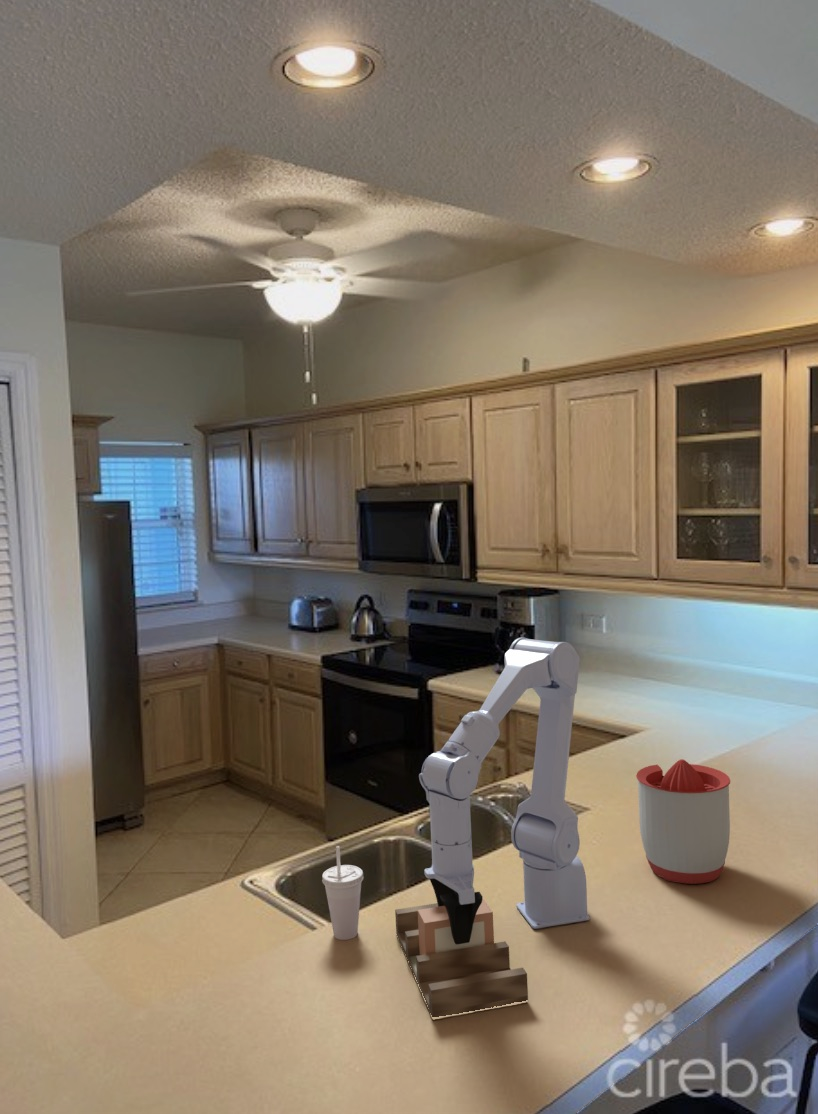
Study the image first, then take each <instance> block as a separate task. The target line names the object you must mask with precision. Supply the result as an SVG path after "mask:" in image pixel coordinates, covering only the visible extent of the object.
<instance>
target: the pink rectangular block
mask: <svg viewBox="0 0 818 1114" xmlns="http://www.w3.org/2000/svg"><path fill="white" fill-rule="evenodd" d="M418 929H419V951H420V956H421V955H427V954H433V953H439V952H445V951H451V950H457V949H462V948H468V947H474V946H480V945H486V944H492V943H495V935H494V934H495V933H494V912H493V910H492V909H491V907H490V906H489V905H488V903H487V902H486V900H485V899H482V903H481V905H480V906H479V908H478V910H477V913H476V915H475V919H474V923H473V928H472V933H471V938H470V942H469V943H463V944H457V945H456V944H455V942H454V940H453V936H452V932H451V926H450V921H449V917H448V913H447V910H446V908H445V906H439V907H433V908H427V909H420V910H418Z"/></svg>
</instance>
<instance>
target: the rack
mask: <svg viewBox="0 0 818 1114" xmlns="http://www.w3.org/2000/svg"><path fill="white" fill-rule="evenodd" d="M433 907H438V903H437V902H435V903H429V904H424V905H418V906H411V907H404V908H397V909H395V910H394V911H395V913H394V914H395V930H396V934H397V935H396V937H397V936H398V937H397V940H398V939H399V940H398V942H399V941H400V942H399V944H400V943H401V945H400V946H402V947H401V949H402V948H403V949H402V951H403V950H404V952H405V954H406V956H405V958H406V957H407V959H408V961H409V964H410V966H411V968H412V970H413V973H414V975H415V977H416V980H417V982H418V984H419V987H420V989H421V991H422V993H423V996H424V998H425V1000H426V1003H427V1005H428V1008H429V1011H430V1013H431V1015H432V1017H439V1016H446V1015H452V1014H459V1013H463V1012H469V1011H475V1010H480V1009H485V1008H491V1007H492V1008H493V1007H494V1006H496V1007H497V1006H502V1005H506V1004H511V1003H514V1002H522V1001H526V1000H528V1001H529V991H528V990H529V989H528V973H527V971H526V970H525V969H524V967H518V968H512V969H511V965H510V946H509V945H508V943H507V942H506V941H500V942H494V943H492V944H486V945H480V946H474V947H468V948H462V949H457V950H451V951H445V952H439V953H433V954H427V955H421V956H420V951H419V929H418V910H420V909H427V908H433ZM404 952H403V953H404ZM405 954H404V955H405ZM407 959H406V960H407ZM408 961H407V962H408ZM409 964H408V965H409ZM410 966H409V967H410ZM411 968H410V969H411ZM413 973H412V974H413ZM414 975H413V976H414ZM416 980H415V981H416ZM419 987H418V988H419ZM429 1011H428V1012H429ZM430 1013H429V1014H430Z"/></svg>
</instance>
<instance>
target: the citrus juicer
mask: <svg viewBox="0 0 818 1114" xmlns="http://www.w3.org/2000/svg"><path fill="white" fill-rule="evenodd" d="M635 777H636V779H637V787H638V788H637V789H638V794H637V795H638V818H639V819H638V821H639V831H640V832H639V833H640V837H641V841H642V846H643V851H644V853H645V858H646V860H647V862H648V864H649V866H650V869H651V871H652V872H653V873H654V874H655V875H657V876H659V877H660V878H662V879H664V880H666V881H668V882H675V883H681V884H691V885H692V884H693V885H694V884H696V885H697V884H704V883H709V882H714V880H717V879H718V878H719V877H720V875H721V873H722V871H723V869H724V866H725V864H726V858H727V855H728V850H729V845H730V833H731V832H730V831H731V824H730V823H731V820H730V787H729V786H730V784H731V779H730V776H728V775H727V774H726V773H725V772H723V771H721V770H720V769H719V770H718V769H716V768H713V767H709V766H705V765H700V764H692V763H689V762H688V761H686V760H685V759H682V758H681V759H679V760H678V761H677V760H676V762H675V763H674V764H673V765H672V766H670V768H669V769H668V770H667V771H666V773H665V774H664V772H663V768H661V766H660V765H658V764H654V765H648V766H645V767H642V768H640V769H639V770H638V771H637V773H636V775H635Z"/></svg>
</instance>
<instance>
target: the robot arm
mask: <svg viewBox="0 0 818 1114" xmlns="http://www.w3.org/2000/svg"><path fill="white" fill-rule="evenodd" d="M580 659H581V657H580V656H579V654H578V652H577V651H576V649H575V648H574V646H573V645H572V644H571V643H570V642H568V641H567V642H566V641H552V640H551V641H550V640H541V639H531V638H526V637H517V638H516V639H514V641H513V642H512V643H511V645H510V647H509V649H508V650H507V651H506V652H505V653H504V659H503V660H504V668H503V670H502V672H501V673H500V675H499V676H498V677H497V680H496V682H495V683H494V685H493V687H492V688H491V690H490V692H489V693H488V695H487V697H486V698H485V700H484V701H483V703H482V705H481V707H480V709H479V710H475V711H469V712H467V713H466V714H465V715H463V717H462V719H460V723H459V725H457V727H456V729H455V730H454V731H453V732H452V734H451V735H450V737H449V738H448V740H447V741H446V743H445V744H444V745H443V747H442V748H441V749H440V750H439V751H435V752H433V753H431V754H430V755H428V757H426V758H425V760H424V761H423V763H422V767H421V772H420V773H419V774H418V778H419V783H420V784H421V786H422V788H423V789H424V791H425V796H426V797H425V798H426V801H427V802H428V803H429V818H430V819H429V820H430V841H431V859H432V860H431V866H430V867H429V868H427V867H426V868H425V869H424V875H425V877H426V879H427V880H429V881H430V883H431V886H432V888H433V891H434V894H435V900H436V903H438V907H439V906H445V908H446V910H447V913H448V917H449V921H450V926H451V932H452V936H453V940H454V942H455V944H456V945H457V944H463V943H469V942H470V938H471V933H472V928H473V923H474V919H475V915H476V913H477V910H478V908H479V906H480V905H481V903H482V900H483V895H482V894H481V892H480V891H475V888H474V878H475V866H474V865H473V846H472V845H473V843H472V822H471V799H470V796H471V795H472V793H473V792H474V791H475V790H476V788H477V785H478V783H479V775H480V773H481V770H482V763H483V761H484V760H485V759H486V757H487V755H488V754H489V753H490V751H491V749H492V748H493V747H494V745H495V744H496V742H497V740H498V739H499V738H500V735H501V733H500V726H499V725H500V723H501V722H502V720H503V719H504V717H506V715H507V714H508V713H509V711H510V710H511V709H512V708H513V707H514V706H515V704H516V703H517V702H518V700H519V699H520V698H521V697H522V696H523V694H524V693H525V692H526V691H527V690H528V689H533V691H534V692H535V693H536V694H537V696H538V697H539V699H540V703H539V713H538V719H537V720H538V723H537V732H536V741H535V752H534V761H533V762H534V763H533V770H532V780H531V781H532V782H531V788H530V789H531V790H530V796H529V797H528V798H526V799H525V800H523V801H522V802H520V803H519V804H518V806H517V811H516V816H515V819H514V821H513V824H512V826H511V832H510V838H511V843H512V845H513V847H514V848H515V850H517V851H518V857H519V858H520V859H522V868H523V893H524V901H522V902H518V903H516V908H517V910H518V911H519V912H520V914H521V915H522V916H523V918H524V919H525V920H526V921H527V923H529V924H528V925H530V927H531V928H532V929H534V930H536V929H537V930H538V929H543V928H548V927H555V926H562V925H568V924H573V923H580V922H585V921H589V920H590V916H589V914H588V897H587V896H588V894H587V893H588V892H587V891H588V889H587V876H586V871H585V868H584V863H583V862H582V860H581V859H580V857H579V856H578V854H579V850H580V844H581V843H580V834H579V830H578V829H579V828H578V824H579V823H578V822H579V817H578V815H577V813H576V812H575V811H574V810H573V809H572V807H570V806H569V804H568V803H567V802H566V788H567V779H568V768H569V761H570V760H569V757H570V748H571V739H572V728H573V718H574V707H575V698H576V697H575V696H576V694H577V691H578V680H579V671H580Z"/></svg>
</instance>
